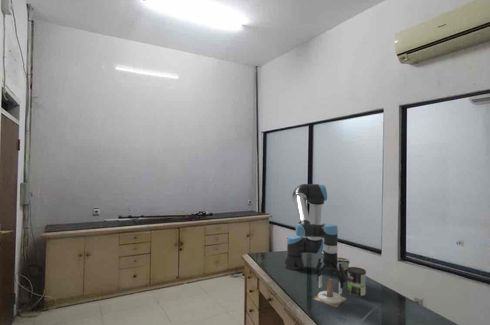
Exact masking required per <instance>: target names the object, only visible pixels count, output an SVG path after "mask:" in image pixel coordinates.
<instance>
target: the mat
mask: <svg viewBox="0 0 490 325" xmlns="http://www.w3.org/2000/svg"><path fill="white" fill-rule="evenodd" d="M312 299H313V300H314V301H315V300H316V301H318V302H321V303H324V304H326V305H330V306H332V307H336V308H337V307H339V305H341V304H342V303H344V302H345V301H346V300H347V299H348V298H347V297H344V296H342V302H341V303H338V304H329V303H325V302H323V301H321V300H320V299H319V298H318V294H317V295H316V296H314V297H313V298H312Z"/></svg>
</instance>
